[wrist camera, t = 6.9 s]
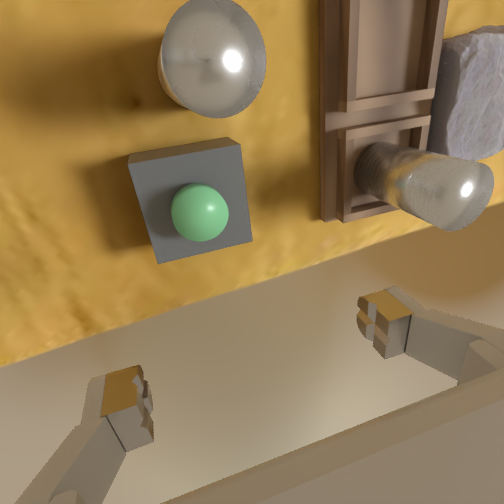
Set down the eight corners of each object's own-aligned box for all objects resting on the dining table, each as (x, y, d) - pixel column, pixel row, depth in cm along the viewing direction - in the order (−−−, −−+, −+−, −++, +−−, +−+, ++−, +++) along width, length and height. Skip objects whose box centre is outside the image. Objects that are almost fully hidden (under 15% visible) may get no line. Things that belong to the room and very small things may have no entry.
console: (156, 243, 29) (157, 264, 25) (129, 153, 25) (127, 164, 21) (240, 223, 30) (252, 241, 27) (227, 137, 26) (240, 144, 23)
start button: (173, 222, 27) (179, 247, 23) (162, 177, 25) (165, 194, 21) (218, 212, 28) (232, 234, 24) (210, 167, 26) (224, 183, 22)
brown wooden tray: (320, 219, 33) (332, 227, 31) (318, -15, 24) (335, -25, 21) (410, 197, 35) (427, 204, 33) (440, -24, 26) (466, -34, 24)
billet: (167, 113, 24) (177, 126, 16) (148, 35, 22) (148, 1, 13) (229, 103, 25) (270, 109, 17) (218, 27, 23) (259, -11, 14)
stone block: (493, 20, 31) (423, 41, 28) (553, 10, 27) (480, 33, 24) (471, 143, 37) (412, 171, 34) (518, 148, 33) (456, 181, 30)
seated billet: (352, 197, 32) (429, 238, 23) (354, 146, 29) (441, 170, 21) (395, 187, 33) (484, 222, 24) (400, 137, 30) (502, 156, 22)
